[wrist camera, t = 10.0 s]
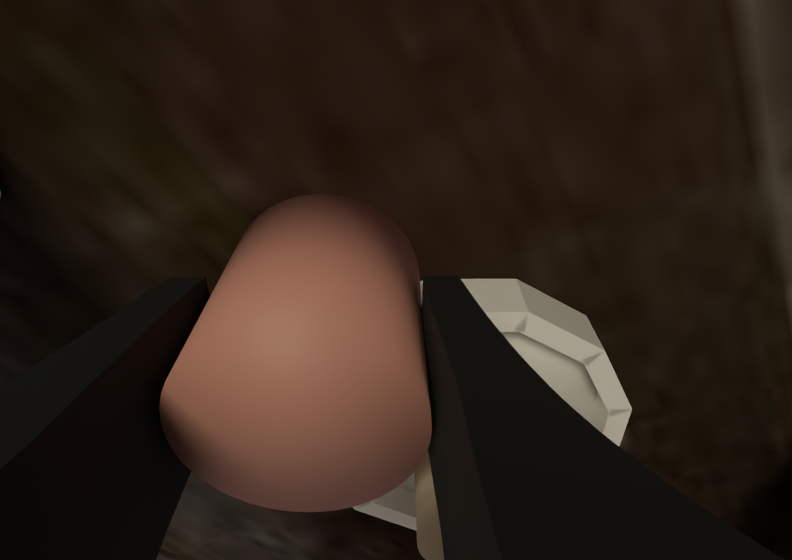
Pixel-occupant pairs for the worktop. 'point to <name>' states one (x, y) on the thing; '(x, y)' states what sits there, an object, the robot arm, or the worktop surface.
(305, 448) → the brownish pink rounded piece
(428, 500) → the bead
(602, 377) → the dish
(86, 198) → the worktop surface
